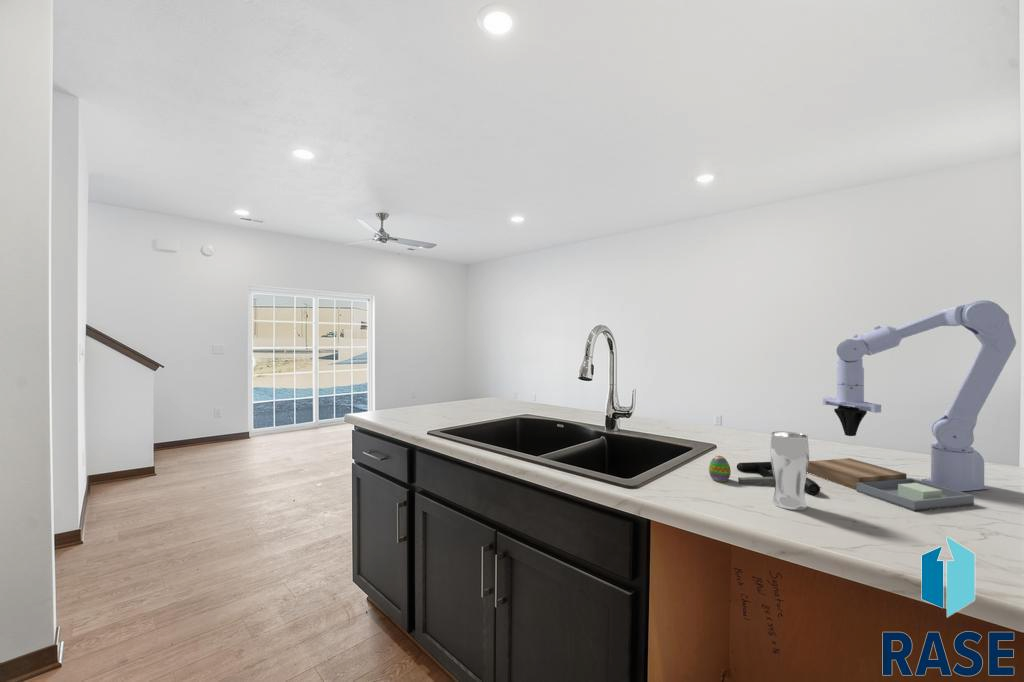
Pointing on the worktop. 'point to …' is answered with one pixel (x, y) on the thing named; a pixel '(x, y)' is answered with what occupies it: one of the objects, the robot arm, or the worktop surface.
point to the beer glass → (789, 468)
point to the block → (918, 491)
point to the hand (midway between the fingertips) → (850, 435)
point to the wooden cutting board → (852, 471)
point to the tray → (889, 493)
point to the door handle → (768, 476)
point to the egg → (719, 469)
